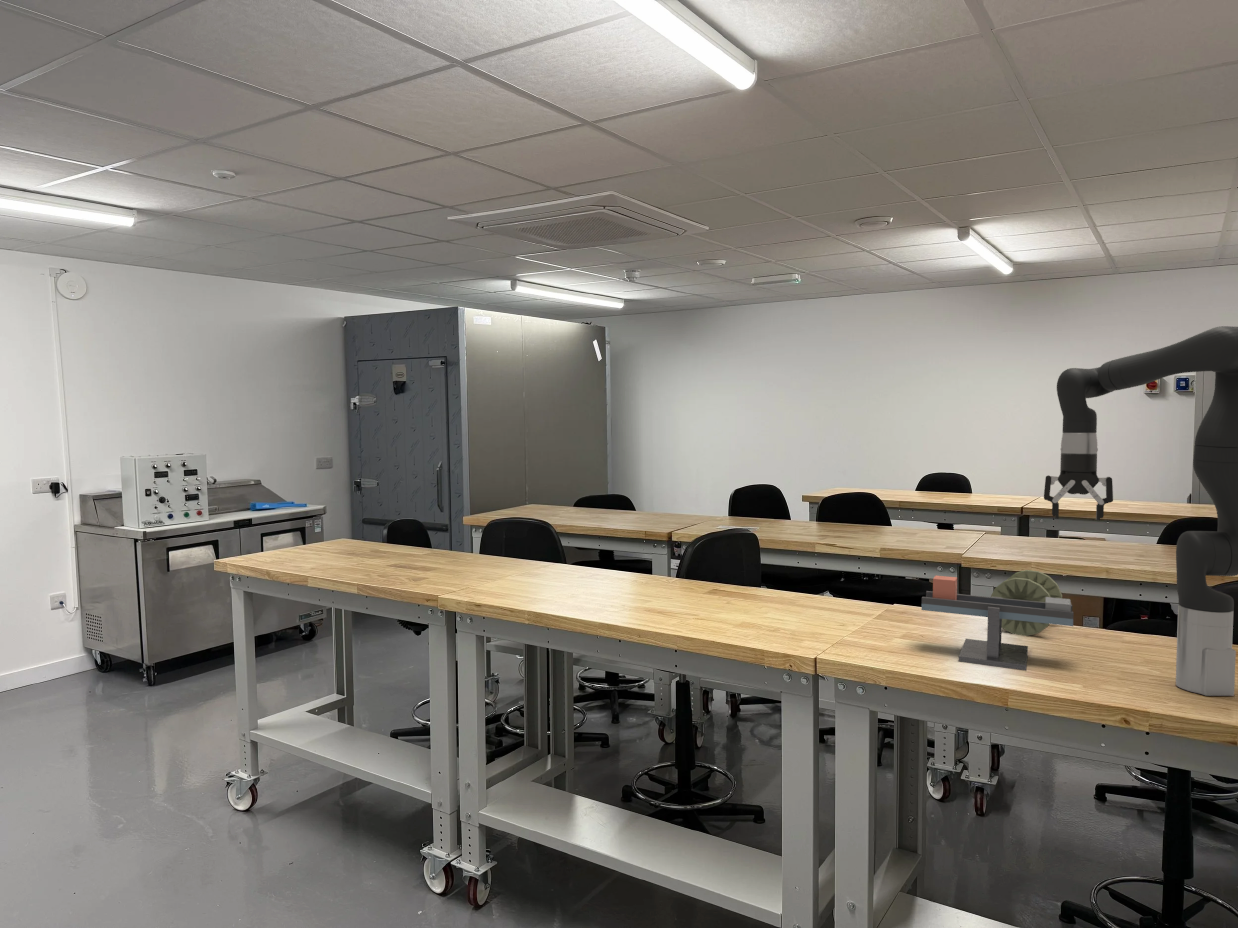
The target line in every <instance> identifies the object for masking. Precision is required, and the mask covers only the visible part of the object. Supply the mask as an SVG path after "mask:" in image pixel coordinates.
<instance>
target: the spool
mask: <svg viewBox="0 0 1238 928" xmlns="http://www.w3.org/2000/svg"><path fill="white" fill-rule="evenodd" d="M990 597H1002V598H1005V599H1016V600H1026V601H1037V602H1046V597H1052V598H1062V599H1063V594H1062V592H1061V589H1060V586H1059V585H1058V583H1057V582H1056V581H1055V580H1054V579H1053V578H1052V577H1051V576H1050V575H1047V574H1046V573H1043V572H1041V571H1039V570H1031V569H1030V570H1029V569H1025V570H1021V571H1018V572H1017V571H1016V572H1015V573H1014V574H1012V575H1011V576H1010V577H1008V578H1007V579H1006V580H1004V581H1002V582H1001V583H1000V584H998V585H997V586H996V587H994V589H993V591H992V593H991V596H990ZM1049 625H1050V624H1047V623H1038V622H1028V621H1019V620H1010V619H1002V630H1005V631H1006V632H1009V634H1010V633H1011V634H1013V635H1016V636H1023V637H1025V636H1026V637H1027V636H1033V635H1036V634H1039V633H1041V632H1042V631H1044V630H1046V628H1047V627H1049Z"/></svg>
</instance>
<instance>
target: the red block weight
mask: <svg viewBox="0 0 1238 928" xmlns="http://www.w3.org/2000/svg"><path fill="white" fill-rule="evenodd" d="M932 592H933V598H940V599H950V600H957V594H958V577H957V576H945V575H944V576H943V575H934V577H933V578H932Z"/></svg>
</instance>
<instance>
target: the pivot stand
mask: <svg viewBox="0 0 1238 928" xmlns="http://www.w3.org/2000/svg"><path fill="white" fill-rule="evenodd" d="M995 598H1002V597H995ZM1002 630H1003V628H1002V619H1000V608H997V607H988V617H987V632H986V633H987V634H986V635H987V636H986V640H980V639H972V638H965V640H964V642H963V645H962V647H961V649H960V653H959V654H958V662H961V663H968V664H976V665H983V666H989V667H990V666H991V667H996V668H997V667H999V668H1005V669H1012V670H1019V671H1027V664H1028V654H1029V646H1028V645H1021V644H1014V643H1006V642H1002V633H1003V631H1002Z"/></svg>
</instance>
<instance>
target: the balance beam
mask: <svg viewBox="0 0 1238 928" xmlns="http://www.w3.org/2000/svg"><path fill="white" fill-rule="evenodd" d="M988 607H997V608H1000V619H1010V620H1019V621H1028V622H1038V623H1047V624H1049V625H1059V626H1068V627H1074V611H1073V604H1072V602H1071V598H1063V597H1062V598H1052V597H1046V602H1037V601H1026V600H1016V599H1005V598H995V597H991V596H982V595H972V594H961V593H957V600H950V599H940V598H933V590H932V591H931V590H930V591H929V590H926V592H925V596H922V597H921V611H929V612H934V613H935V612H937V613H947V614H955V615H966V616H975V617H984V618H988Z"/></svg>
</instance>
